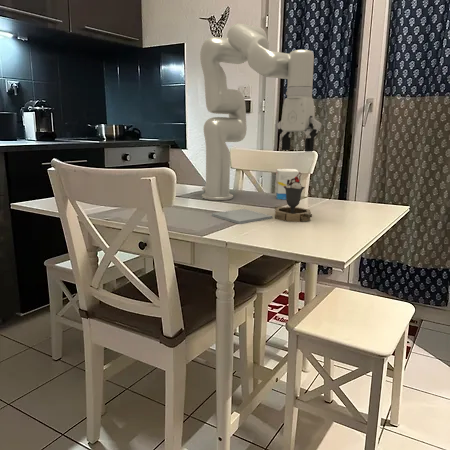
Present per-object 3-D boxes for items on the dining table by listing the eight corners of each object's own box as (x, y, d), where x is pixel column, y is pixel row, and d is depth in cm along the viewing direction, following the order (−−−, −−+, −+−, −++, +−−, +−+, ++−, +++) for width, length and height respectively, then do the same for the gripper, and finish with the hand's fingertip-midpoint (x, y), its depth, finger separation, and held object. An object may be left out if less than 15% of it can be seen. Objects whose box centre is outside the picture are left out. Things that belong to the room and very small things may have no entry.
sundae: (302, 220, 137) (305, 173, 134) (281, 219, 138) (283, 172, 135) (303, 216, 143) (305, 171, 140) (282, 215, 145) (284, 170, 141)
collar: (264, 215, 143) (264, 208, 143) (287, 212, 150) (288, 204, 149) (297, 224, 132) (297, 216, 131) (321, 220, 139) (322, 212, 138)
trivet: (211, 215, 142) (211, 213, 142) (244, 211, 150) (244, 208, 150) (239, 224, 131) (239, 221, 131) (272, 218, 140) (272, 216, 139)
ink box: (297, 200, 174) (299, 170, 171) (276, 199, 174) (278, 170, 171) (294, 196, 182) (296, 168, 179) (274, 196, 182) (276, 168, 179)
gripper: (270, 94, 136) (269, 149, 140) (313, 91, 123) (310, 152, 127) (287, 95, 141) (285, 149, 144) (330, 92, 127) (326, 151, 131)
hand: (297, 150), depth 135 cm, fingers open, 9 cm apart
